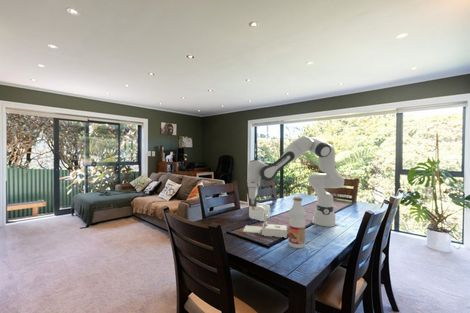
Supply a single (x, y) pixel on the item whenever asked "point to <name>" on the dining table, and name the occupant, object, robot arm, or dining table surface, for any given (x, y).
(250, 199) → the plug
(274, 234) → the power strip
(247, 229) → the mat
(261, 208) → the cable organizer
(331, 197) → the robot arm
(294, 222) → the fruit juice
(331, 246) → the dining table surface
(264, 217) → the clip
